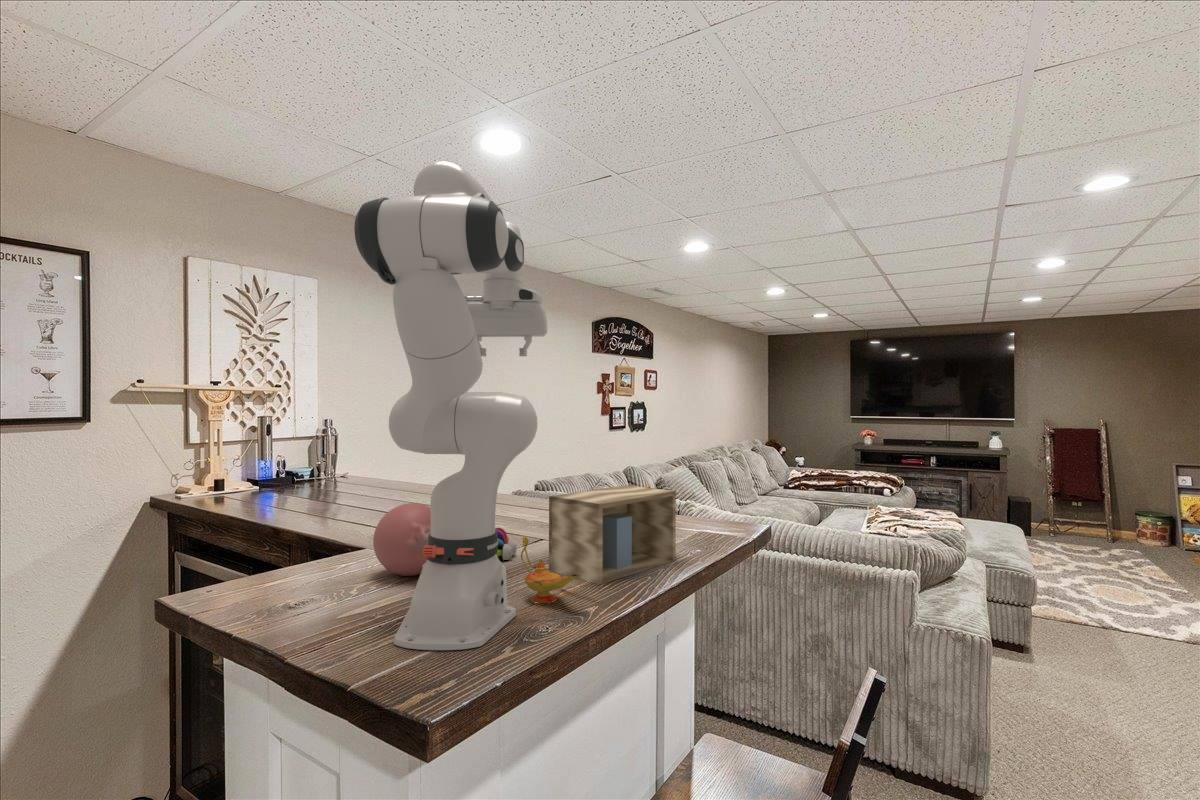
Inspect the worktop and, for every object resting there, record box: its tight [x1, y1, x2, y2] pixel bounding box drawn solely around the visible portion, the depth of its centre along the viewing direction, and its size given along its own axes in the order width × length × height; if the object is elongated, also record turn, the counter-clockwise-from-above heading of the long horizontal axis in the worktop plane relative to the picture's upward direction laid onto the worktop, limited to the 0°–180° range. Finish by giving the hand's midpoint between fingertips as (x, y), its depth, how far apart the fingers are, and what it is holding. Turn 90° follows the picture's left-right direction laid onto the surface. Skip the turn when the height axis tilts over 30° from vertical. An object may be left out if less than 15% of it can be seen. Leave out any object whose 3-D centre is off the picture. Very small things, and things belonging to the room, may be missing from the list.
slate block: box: [603, 513, 632, 569], centre depth 132 cm, size 5×5×11 cm
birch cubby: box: [548, 484, 677, 585], centre depth 132 cm, size 15×26×17 cm, turn 137°
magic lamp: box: [520, 535, 581, 604], centre depth 110 cm, size 7×18×11 cm, turn 42°
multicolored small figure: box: [495, 527, 517, 561], centre depth 142 cm, size 8×10×7 cm
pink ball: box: [372, 502, 431, 577], centre depth 126 cm, size 15×20×15 cm
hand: (502, 356), depth 134 cm, fingers open, 8 cm apart
